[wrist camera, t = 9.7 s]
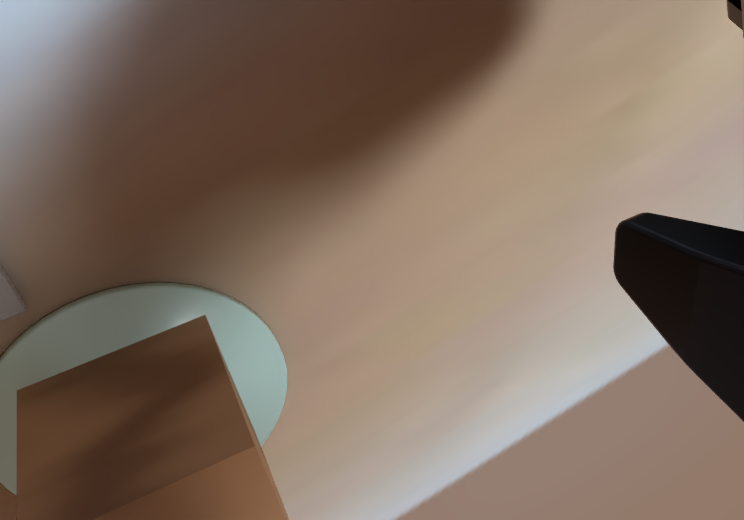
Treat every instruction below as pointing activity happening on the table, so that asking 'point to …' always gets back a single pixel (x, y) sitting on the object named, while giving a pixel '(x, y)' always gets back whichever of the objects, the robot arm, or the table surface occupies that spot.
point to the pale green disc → (132, 324)
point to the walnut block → (143, 438)
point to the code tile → (9, 298)
